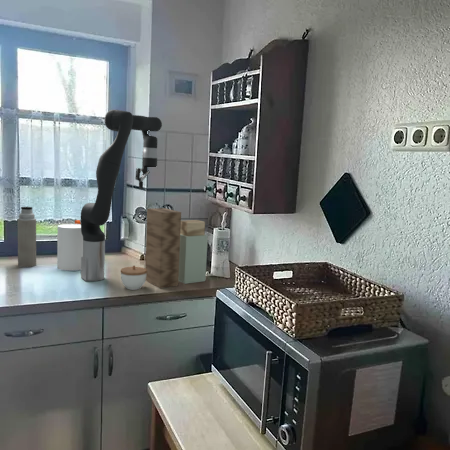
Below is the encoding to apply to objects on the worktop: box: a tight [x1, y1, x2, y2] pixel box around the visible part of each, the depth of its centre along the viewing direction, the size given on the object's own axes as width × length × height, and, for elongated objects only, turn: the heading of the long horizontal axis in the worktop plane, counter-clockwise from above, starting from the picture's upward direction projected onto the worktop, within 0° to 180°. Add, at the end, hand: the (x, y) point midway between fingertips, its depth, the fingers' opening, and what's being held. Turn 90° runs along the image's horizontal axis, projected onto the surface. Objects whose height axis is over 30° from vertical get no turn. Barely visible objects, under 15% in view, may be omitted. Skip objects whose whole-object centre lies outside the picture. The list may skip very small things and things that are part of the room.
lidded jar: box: [120, 265, 147, 291], centre depth 187 cm, size 11×11×9 cm
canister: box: [56, 223, 83, 271], centre depth 214 cm, size 14×14×20 cm
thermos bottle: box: [17, 206, 37, 268], centre depth 212 cm, size 8×8×28 cm
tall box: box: [144, 207, 182, 289], centre depth 195 cm, size 9×14×32 cm, turn 35°
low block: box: [178, 234, 209, 285], centre depth 204 cm, size 11×13×21 cm
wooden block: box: [180, 219, 206, 236], centre depth 208 cm, size 24×9×6 cm, turn 35°
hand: (148, 188), depth 231 cm, fingers open, 8 cm apart
